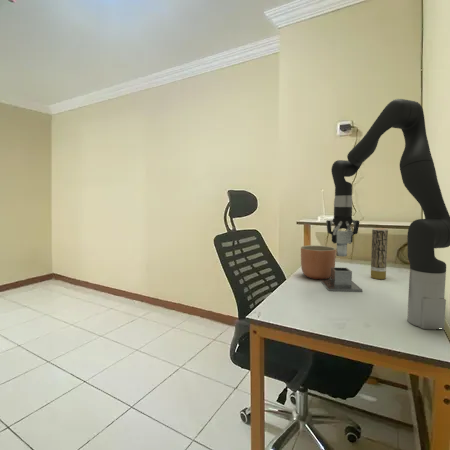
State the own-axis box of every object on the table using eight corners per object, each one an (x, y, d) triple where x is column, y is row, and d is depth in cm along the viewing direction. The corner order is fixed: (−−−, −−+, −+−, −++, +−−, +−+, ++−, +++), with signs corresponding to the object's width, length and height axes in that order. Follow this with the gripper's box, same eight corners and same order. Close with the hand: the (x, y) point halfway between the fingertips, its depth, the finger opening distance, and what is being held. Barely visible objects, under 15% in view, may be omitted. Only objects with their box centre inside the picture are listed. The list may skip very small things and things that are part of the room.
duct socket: (362, 291, 122) (362, 273, 121) (328, 290, 123) (328, 272, 123) (351, 282, 135) (352, 266, 135) (321, 281, 137) (321, 265, 136)
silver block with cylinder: (350, 256, 125) (351, 232, 124) (336, 256, 126) (337, 232, 125) (344, 253, 134) (344, 230, 133) (331, 252, 135) (331, 229, 134)
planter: (305, 271, 158) (306, 244, 156) (338, 275, 149) (339, 246, 147) (295, 278, 143) (296, 248, 142) (331, 283, 134) (331, 251, 133)
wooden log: (387, 280, 140) (390, 229, 138) (372, 279, 141) (374, 229, 139) (383, 276, 146) (385, 228, 144) (368, 275, 148) (370, 228, 146)
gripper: (328, 206, 123) (327, 244, 125) (363, 206, 122) (361, 244, 123) (324, 205, 131) (323, 242, 132) (357, 205, 129) (355, 242, 131)
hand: (341, 243), depth 128 cm, fingers closed on silver block with cylinder, 6 cm apart
